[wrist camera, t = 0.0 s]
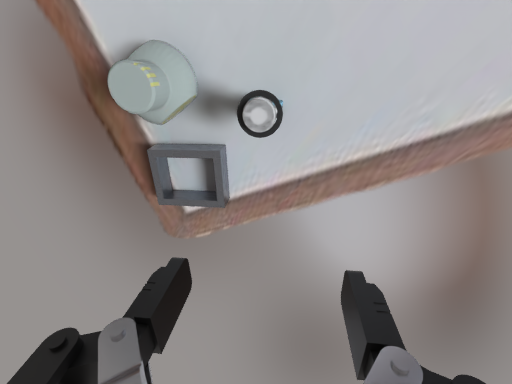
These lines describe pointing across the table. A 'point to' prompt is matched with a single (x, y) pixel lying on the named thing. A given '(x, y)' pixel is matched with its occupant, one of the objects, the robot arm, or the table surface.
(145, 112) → the air freshener
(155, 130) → the table surface
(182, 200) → the square socket
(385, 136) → the table surface
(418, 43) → the table surface
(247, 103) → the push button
